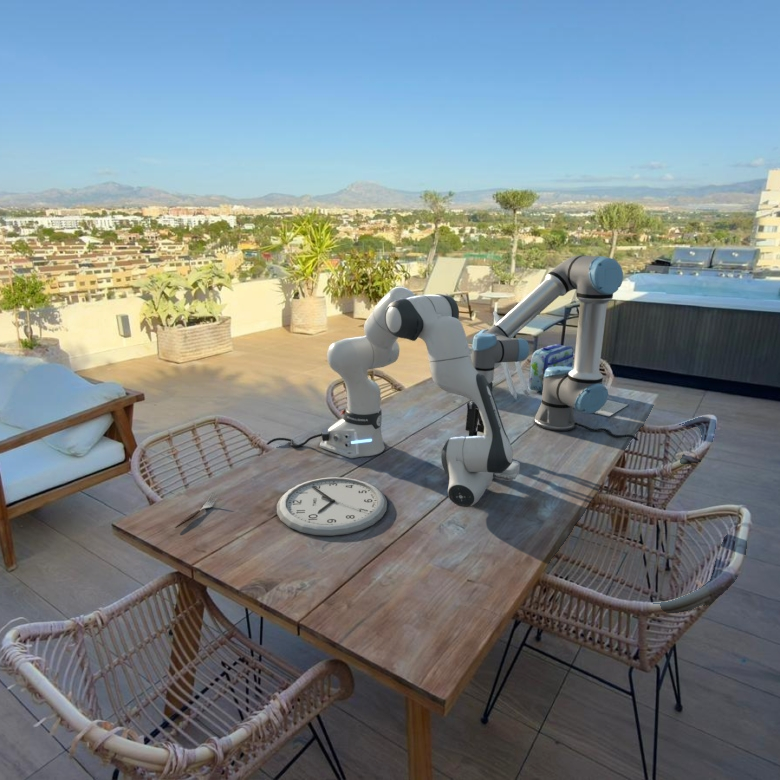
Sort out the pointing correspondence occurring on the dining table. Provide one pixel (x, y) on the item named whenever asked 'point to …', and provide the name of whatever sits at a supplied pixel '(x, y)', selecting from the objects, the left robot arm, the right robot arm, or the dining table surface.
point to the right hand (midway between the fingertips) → (476, 445)
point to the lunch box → (548, 363)
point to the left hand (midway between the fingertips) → (490, 454)
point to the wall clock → (331, 506)
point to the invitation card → (610, 408)
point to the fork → (206, 505)
